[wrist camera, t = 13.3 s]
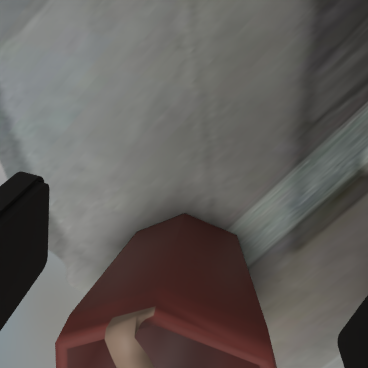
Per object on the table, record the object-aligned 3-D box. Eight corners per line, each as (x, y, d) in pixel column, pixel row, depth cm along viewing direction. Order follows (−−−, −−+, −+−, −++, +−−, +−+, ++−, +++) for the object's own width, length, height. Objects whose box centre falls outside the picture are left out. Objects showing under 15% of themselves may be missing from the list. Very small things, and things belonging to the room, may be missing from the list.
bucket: (123, 171, 41) (1, 364, 19) (298, 209, 40) (377, 450, 19) (110, 304, 53) (27, 514, 31) (245, 334, 53) (256, 569, 31)
